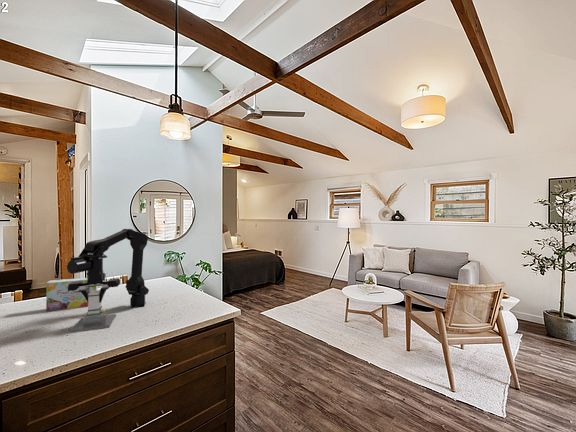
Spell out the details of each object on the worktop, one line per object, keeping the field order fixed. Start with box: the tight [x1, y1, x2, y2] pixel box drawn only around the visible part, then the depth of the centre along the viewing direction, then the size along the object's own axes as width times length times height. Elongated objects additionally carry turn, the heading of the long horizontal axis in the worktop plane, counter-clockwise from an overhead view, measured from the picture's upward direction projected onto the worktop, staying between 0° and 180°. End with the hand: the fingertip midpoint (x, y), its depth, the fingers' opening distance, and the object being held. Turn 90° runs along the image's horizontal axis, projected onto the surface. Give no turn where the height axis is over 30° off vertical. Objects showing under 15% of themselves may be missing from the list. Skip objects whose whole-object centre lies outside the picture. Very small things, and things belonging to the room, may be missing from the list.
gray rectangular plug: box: [87, 289, 103, 315], centre depth 120 cm, size 4×4×10 cm
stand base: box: [69, 308, 117, 333], centre depth 120 cm, size 14×14×6 cm
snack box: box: [45, 277, 99, 312], centre depth 141 cm, size 21×6×15 cm, turn 117°
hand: (95, 302), depth 120 cm, fingers closed on gray rectangular plug, 4 cm apart
